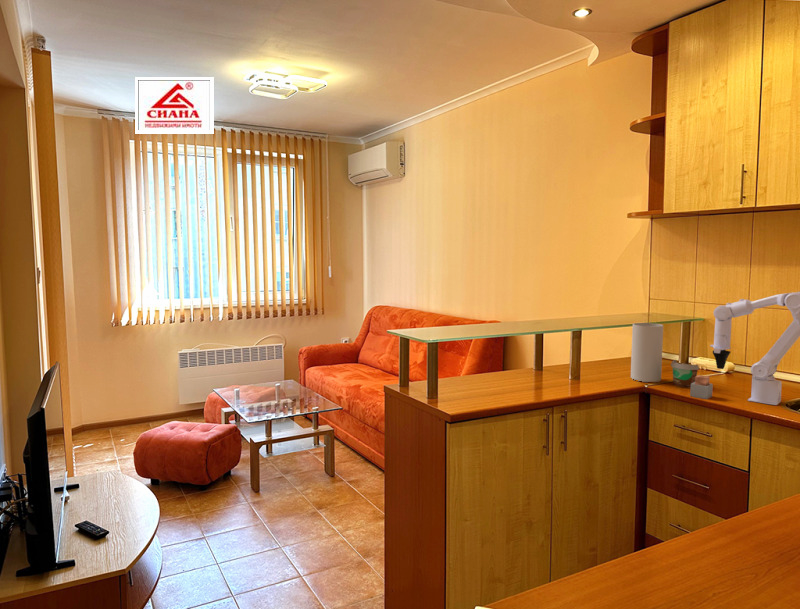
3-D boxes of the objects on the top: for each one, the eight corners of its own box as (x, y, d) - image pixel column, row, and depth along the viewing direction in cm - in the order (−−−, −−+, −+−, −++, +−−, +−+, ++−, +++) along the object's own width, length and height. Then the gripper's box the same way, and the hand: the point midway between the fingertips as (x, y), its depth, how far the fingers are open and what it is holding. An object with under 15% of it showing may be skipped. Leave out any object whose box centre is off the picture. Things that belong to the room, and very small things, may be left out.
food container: (663, 383, 243) (664, 360, 242) (674, 382, 245) (675, 359, 244) (687, 389, 232) (688, 365, 231) (698, 388, 234) (699, 364, 233)
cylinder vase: (655, 377, 255) (657, 323, 253) (665, 383, 243) (667, 326, 240) (627, 376, 256) (628, 322, 254) (635, 382, 244) (637, 326, 242)
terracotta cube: (709, 386, 220) (709, 376, 220) (705, 388, 217) (706, 378, 217) (698, 384, 223) (698, 375, 222) (694, 386, 220) (695, 376, 220)
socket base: (712, 396, 220) (712, 383, 220) (707, 399, 216) (707, 386, 216) (695, 393, 225) (695, 381, 224) (690, 396, 220) (690, 384, 220)
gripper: (716, 332, 230) (714, 364, 231) (706, 336, 220) (704, 369, 221) (735, 334, 225) (733, 366, 227) (726, 338, 215) (724, 372, 216)
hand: (720, 368), depth 223 cm, fingers closed
